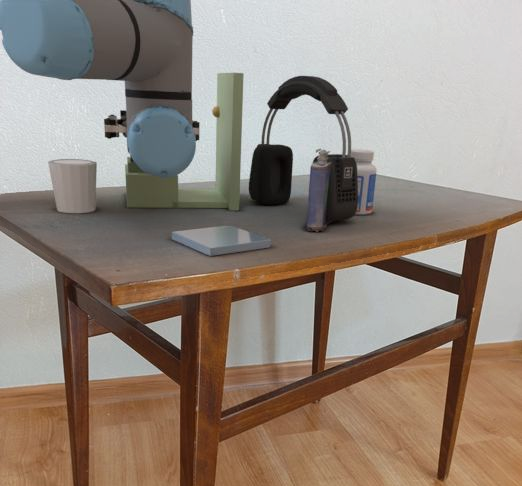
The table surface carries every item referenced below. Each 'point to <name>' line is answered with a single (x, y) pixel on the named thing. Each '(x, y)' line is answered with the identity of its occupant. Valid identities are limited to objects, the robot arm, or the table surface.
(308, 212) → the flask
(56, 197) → the white cup
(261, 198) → the headphones
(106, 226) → the table surface
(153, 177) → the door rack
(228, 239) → the coaster
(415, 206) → the table surface
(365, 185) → the pill bottle
